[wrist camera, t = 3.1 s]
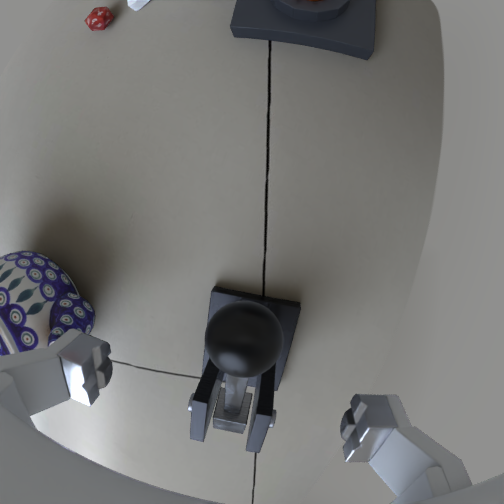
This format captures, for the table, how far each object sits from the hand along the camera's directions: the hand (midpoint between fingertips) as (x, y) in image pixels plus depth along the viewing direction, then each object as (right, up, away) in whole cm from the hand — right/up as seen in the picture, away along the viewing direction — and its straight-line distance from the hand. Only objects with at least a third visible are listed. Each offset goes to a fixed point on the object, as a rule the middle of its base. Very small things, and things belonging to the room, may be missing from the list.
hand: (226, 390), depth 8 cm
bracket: (0, -4, +19) cm, 20 cm away
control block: (+6, +27, +11) cm, 30 cm away
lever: (0, -2, +8) cm, 8 cm away
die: (-15, +29, +12) cm, 35 cm away
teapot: (-23, -2, +21) cm, 32 cm away
